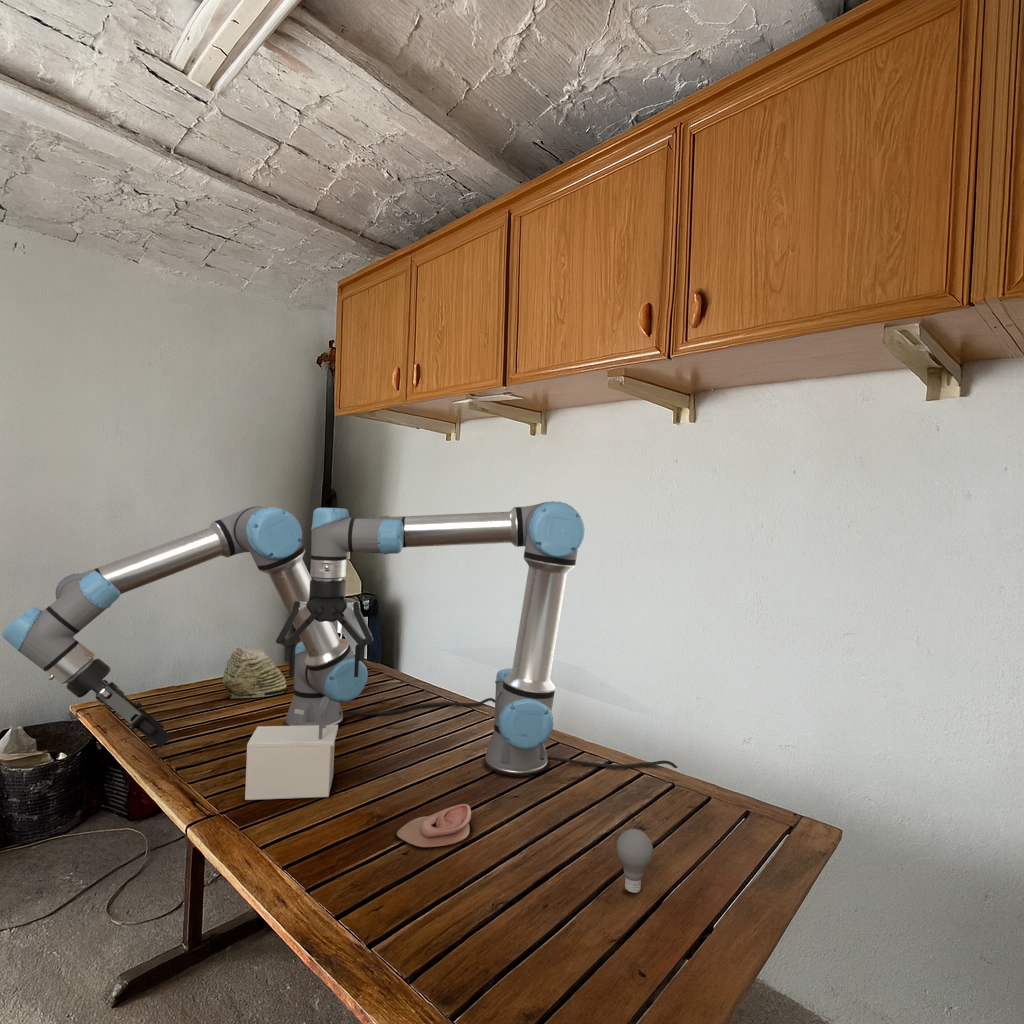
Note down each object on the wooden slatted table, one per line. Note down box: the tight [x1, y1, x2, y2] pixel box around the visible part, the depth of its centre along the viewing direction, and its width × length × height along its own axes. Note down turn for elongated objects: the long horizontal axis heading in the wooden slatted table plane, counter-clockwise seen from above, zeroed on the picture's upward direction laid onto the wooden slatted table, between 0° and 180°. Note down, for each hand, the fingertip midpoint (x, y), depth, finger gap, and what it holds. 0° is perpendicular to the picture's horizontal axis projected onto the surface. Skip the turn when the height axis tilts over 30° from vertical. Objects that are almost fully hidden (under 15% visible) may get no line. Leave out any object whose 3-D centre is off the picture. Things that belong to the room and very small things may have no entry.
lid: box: [246, 696, 339, 749], centre depth 137 cm, size 17×10×8 cm, turn 100°
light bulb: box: [615, 828, 654, 894], centre depth 106 cm, size 6×6×10 cm
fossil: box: [222, 646, 288, 699], centre depth 198 cm, size 9×18×15 cm, turn 132°
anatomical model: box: [396, 803, 472, 848], centre depth 121 cm, size 13×4×12 cm
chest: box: [244, 742, 336, 801], centre depth 137 cm, size 17×10×11 cm, turn 101°
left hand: (162, 736), depth 134 cm, fingers open, 13 cm apart
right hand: (324, 675), depth 138 cm, fingers open, 13 cm apart
